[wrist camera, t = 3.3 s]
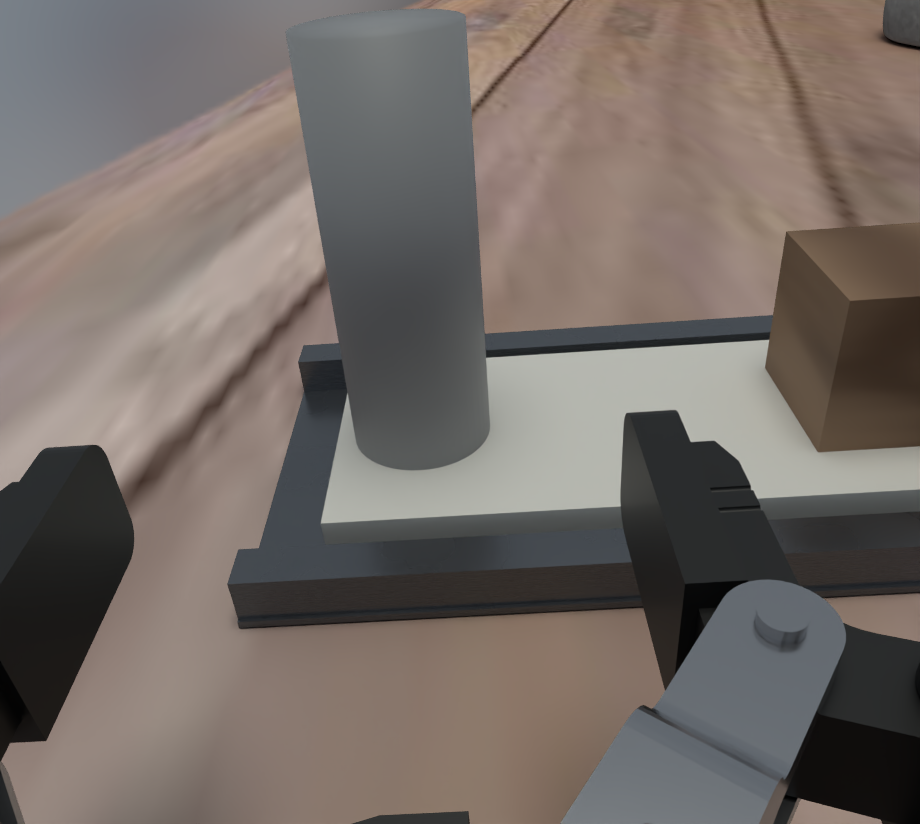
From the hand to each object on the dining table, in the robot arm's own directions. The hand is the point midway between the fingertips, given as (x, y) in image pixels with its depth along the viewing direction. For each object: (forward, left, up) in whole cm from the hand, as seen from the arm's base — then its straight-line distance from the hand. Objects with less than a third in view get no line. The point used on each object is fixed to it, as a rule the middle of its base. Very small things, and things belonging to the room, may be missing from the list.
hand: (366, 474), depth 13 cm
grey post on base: (-9, -10, -8) cm, 15 cm away
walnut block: (-13, -10, -6) cm, 17 cm away
